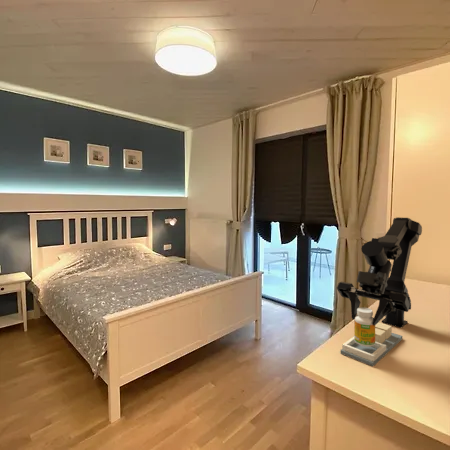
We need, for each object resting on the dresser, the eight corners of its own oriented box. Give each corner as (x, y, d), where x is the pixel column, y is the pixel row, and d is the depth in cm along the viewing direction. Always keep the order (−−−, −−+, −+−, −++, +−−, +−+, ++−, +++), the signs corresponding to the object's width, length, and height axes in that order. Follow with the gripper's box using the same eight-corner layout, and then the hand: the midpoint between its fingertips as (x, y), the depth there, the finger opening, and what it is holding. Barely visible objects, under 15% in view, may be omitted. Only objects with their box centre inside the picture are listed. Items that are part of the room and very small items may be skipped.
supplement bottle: (359, 347, 80) (359, 314, 79) (351, 338, 85) (351, 306, 84) (379, 346, 80) (379, 313, 79) (369, 337, 85) (369, 305, 84)
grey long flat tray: (372, 329, 97) (372, 318, 97) (402, 338, 90) (402, 326, 90) (340, 353, 83) (340, 340, 82) (372, 366, 76) (373, 352, 76)
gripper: (339, 256, 90) (322, 299, 83) (408, 265, 76) (393, 317, 70) (349, 275, 96) (334, 317, 89) (415, 286, 82) (402, 337, 76)
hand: (362, 321), depth 81 cm, fingers closed on supplement bottle, 5 cm apart
